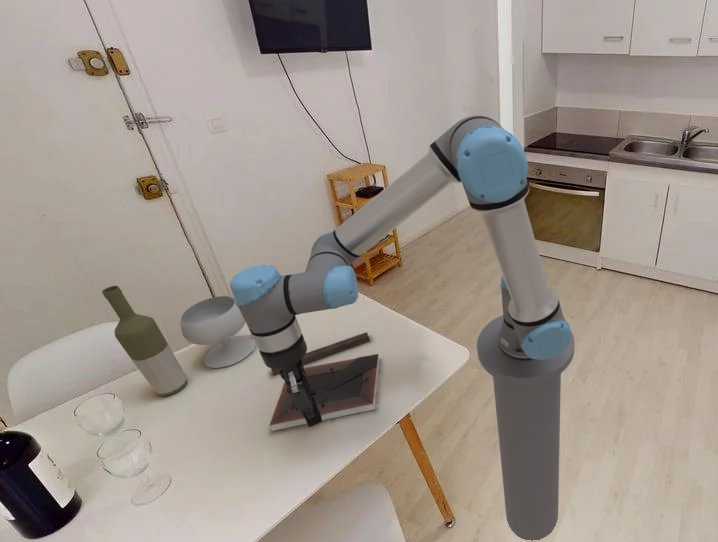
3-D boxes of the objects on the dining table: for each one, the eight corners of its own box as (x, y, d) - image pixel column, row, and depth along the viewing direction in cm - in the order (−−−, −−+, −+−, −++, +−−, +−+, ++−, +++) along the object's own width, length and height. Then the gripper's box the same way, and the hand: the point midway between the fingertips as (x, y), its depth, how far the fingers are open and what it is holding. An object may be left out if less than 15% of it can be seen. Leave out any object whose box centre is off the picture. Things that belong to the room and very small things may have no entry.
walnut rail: (368, 337, 116) (367, 331, 115) (370, 341, 115) (368, 335, 114) (273, 370, 106) (271, 365, 105) (273, 375, 104) (271, 369, 103)
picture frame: (379, 360, 108) (291, 377, 104) (378, 353, 107) (288, 369, 103) (375, 410, 94) (272, 432, 90) (372, 403, 93) (269, 424, 89)
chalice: (201, 348, 114) (177, 305, 107) (258, 329, 121) (239, 287, 113) (199, 379, 104) (172, 334, 96) (261, 357, 110) (241, 313, 103)
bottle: (195, 384, 103) (136, 285, 88) (162, 403, 98) (93, 302, 83) (183, 372, 106) (125, 276, 91) (151, 391, 101) (83, 292, 86)
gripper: (257, 328, 81) (294, 408, 93) (258, 370, 71) (298, 453, 83) (299, 316, 85) (329, 394, 96) (305, 354, 75) (338, 436, 86)
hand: (315, 422), depth 90 cm, fingers closed
